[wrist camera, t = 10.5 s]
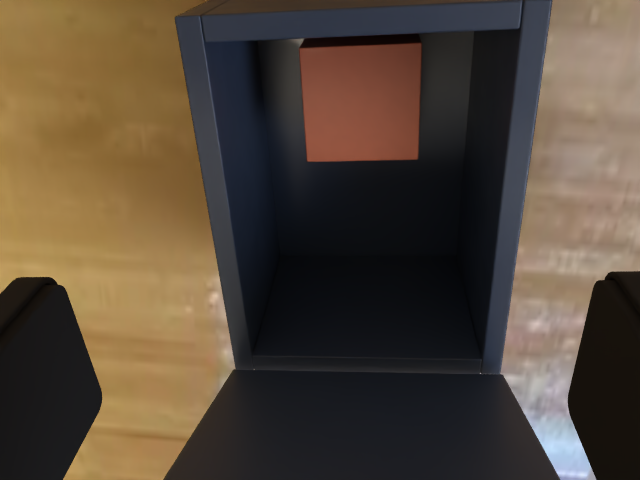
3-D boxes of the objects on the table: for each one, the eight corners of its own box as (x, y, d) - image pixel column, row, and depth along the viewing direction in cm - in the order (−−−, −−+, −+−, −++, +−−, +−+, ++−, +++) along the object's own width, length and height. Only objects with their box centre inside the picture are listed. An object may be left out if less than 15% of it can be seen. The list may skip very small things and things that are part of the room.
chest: (237, -14, 27) (173, 16, 19) (494, -28, 26) (553, -3, 17) (269, 260, 35) (235, 370, 26) (468, 260, 34) (500, 375, 25)
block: (310, 27, 27) (298, 47, 23) (414, 22, 26) (422, 42, 22) (316, 127, 29) (306, 162, 25) (411, 124, 29) (418, 160, 25)
